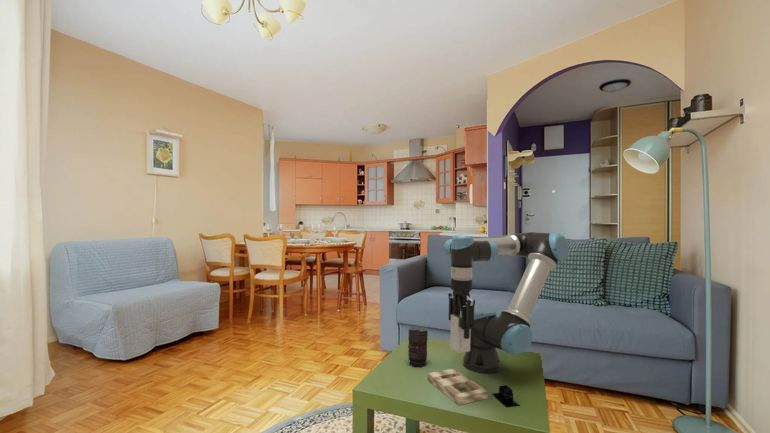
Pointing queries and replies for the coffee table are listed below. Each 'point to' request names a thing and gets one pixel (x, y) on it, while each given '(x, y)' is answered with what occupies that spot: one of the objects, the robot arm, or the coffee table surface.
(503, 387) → the black mounting bracket
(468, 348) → the square peg
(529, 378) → the coffee table surface
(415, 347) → the camera lens
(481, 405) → the coffee table surface
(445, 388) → the plate
